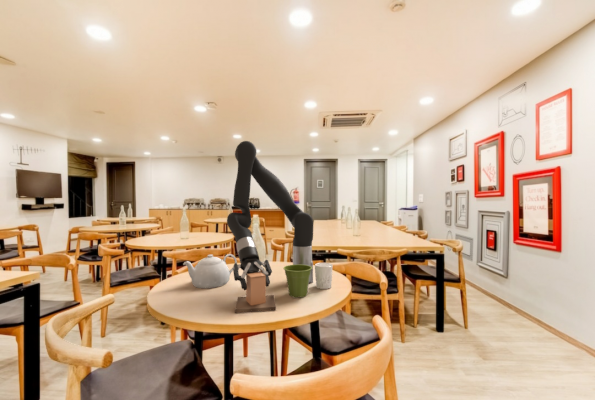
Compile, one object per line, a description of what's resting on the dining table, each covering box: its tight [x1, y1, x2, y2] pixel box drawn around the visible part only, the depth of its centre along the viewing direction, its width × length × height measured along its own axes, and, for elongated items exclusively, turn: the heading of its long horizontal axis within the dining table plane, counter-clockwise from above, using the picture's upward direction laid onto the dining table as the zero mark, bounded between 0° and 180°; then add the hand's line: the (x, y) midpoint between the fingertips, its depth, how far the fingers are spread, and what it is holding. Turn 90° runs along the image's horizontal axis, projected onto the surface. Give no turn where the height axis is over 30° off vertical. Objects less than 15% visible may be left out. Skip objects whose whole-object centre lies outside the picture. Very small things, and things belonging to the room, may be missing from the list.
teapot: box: [182, 253, 238, 289], centre depth 123 cm, size 19×18×14 cm
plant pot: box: [282, 264, 312, 299], centre depth 106 cm, size 12×12×11 cm
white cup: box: [314, 262, 333, 290], centre depth 116 cm, size 8×8×10 cm
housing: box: [245, 272, 267, 306], centre depth 96 cm, size 6×6×10 cm
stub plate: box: [234, 294, 277, 314], centre depth 96 cm, size 14×12×6 cm
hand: (257, 287), depth 95 cm, fingers open, 8 cm apart
